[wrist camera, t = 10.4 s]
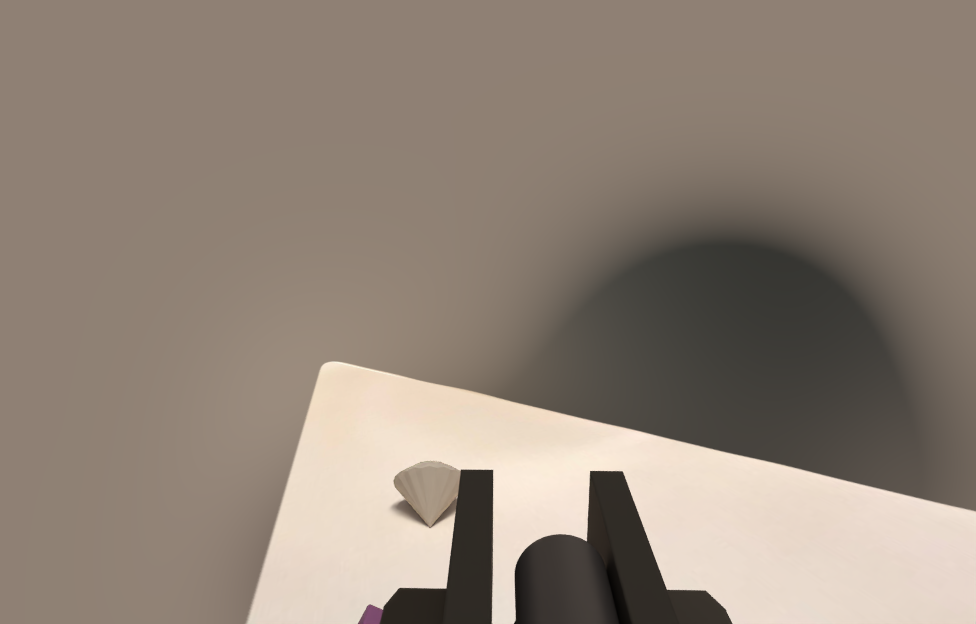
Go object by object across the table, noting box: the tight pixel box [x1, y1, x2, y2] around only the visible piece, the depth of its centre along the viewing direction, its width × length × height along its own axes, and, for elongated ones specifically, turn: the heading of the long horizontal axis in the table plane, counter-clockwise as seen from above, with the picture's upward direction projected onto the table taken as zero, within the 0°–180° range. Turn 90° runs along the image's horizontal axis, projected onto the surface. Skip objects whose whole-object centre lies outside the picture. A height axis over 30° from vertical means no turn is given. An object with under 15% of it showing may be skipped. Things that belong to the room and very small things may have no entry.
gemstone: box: [394, 461, 461, 527], centre depth 54 cm, size 6×6×5 cm
